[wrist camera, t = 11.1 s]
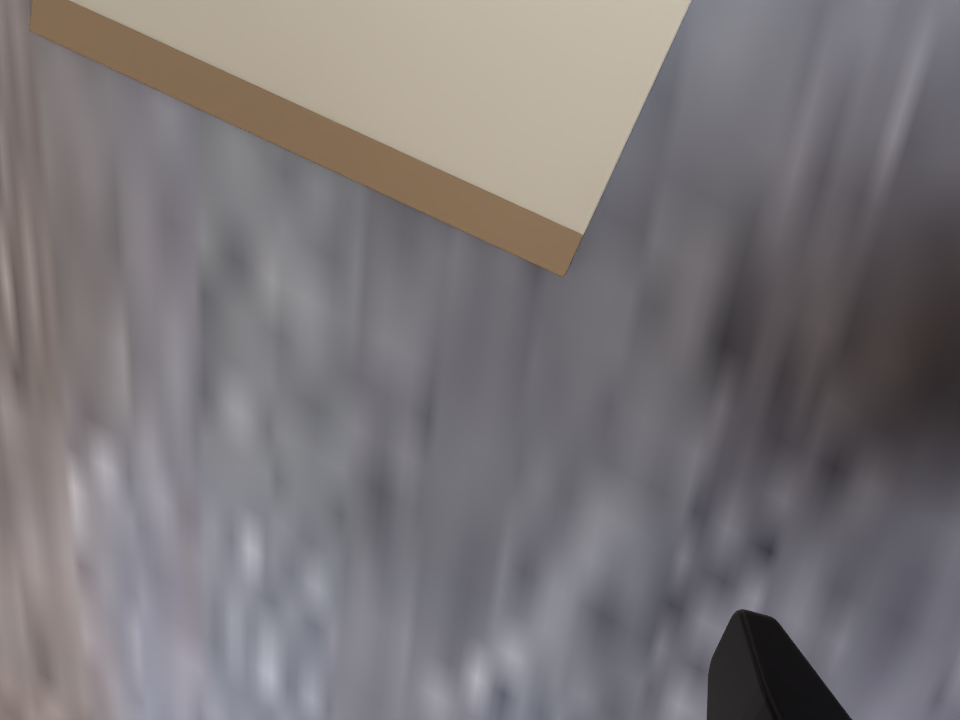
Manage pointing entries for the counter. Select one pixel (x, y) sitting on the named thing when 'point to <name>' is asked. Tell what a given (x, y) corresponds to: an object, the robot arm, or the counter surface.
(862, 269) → the counter surface
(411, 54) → the notepad
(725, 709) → the robot arm
